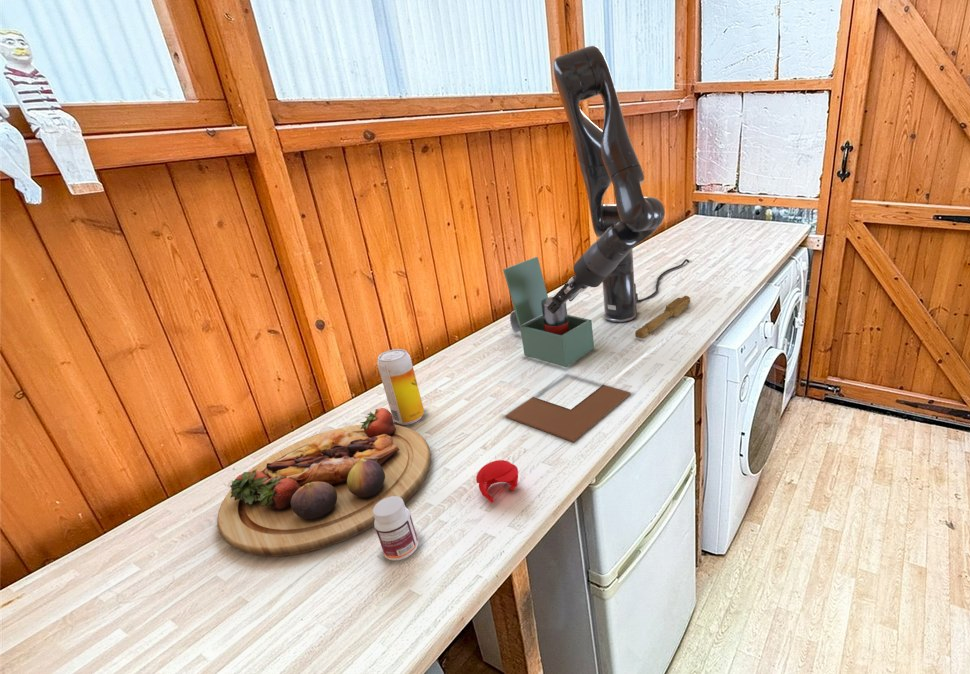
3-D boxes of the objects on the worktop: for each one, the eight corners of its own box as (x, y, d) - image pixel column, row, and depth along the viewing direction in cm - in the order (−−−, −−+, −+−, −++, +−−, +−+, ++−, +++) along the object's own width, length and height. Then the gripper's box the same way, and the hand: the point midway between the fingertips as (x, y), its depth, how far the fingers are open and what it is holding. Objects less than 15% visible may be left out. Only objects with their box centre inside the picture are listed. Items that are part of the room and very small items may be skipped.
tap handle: (634, 328, 140) (683, 293, 163) (634, 339, 141) (683, 302, 164) (643, 331, 138) (692, 294, 162) (644, 341, 140) (692, 304, 163)
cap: (469, 499, 86) (462, 471, 84) (490, 476, 91) (485, 449, 89) (511, 510, 84) (505, 480, 81) (530, 485, 89) (525, 457, 86)
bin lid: (537, 256, 133) (525, 257, 135) (504, 269, 124) (492, 270, 126) (551, 309, 138) (539, 309, 140) (520, 325, 129) (508, 325, 131)
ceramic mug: (550, 331, 148) (547, 305, 144) (526, 340, 142) (522, 314, 139) (529, 322, 154) (525, 297, 151) (505, 330, 149) (501, 305, 146)
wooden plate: (364, 416, 110) (353, 382, 107) (469, 460, 96) (461, 423, 92) (184, 513, 85) (162, 473, 82) (289, 593, 71) (268, 549, 67)
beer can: (431, 412, 111) (415, 349, 105) (410, 428, 106) (393, 363, 99) (408, 408, 113) (391, 346, 106) (387, 423, 108) (368, 359, 101)
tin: (558, 344, 138) (552, 295, 132) (576, 349, 135) (570, 298, 129) (542, 353, 133) (535, 303, 127) (560, 358, 130) (554, 307, 124)
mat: (567, 375, 124) (566, 373, 123) (630, 394, 115) (630, 392, 115) (505, 417, 108) (505, 415, 108) (573, 442, 100) (573, 440, 99)
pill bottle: (391, 538, 79) (377, 495, 76) (423, 535, 79) (410, 492, 76) (379, 563, 75) (363, 519, 71) (413, 560, 75) (399, 516, 72)
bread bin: (594, 350, 135) (591, 319, 132) (565, 369, 126) (562, 337, 123) (554, 340, 142) (550, 310, 138) (524, 357, 133) (519, 326, 129)
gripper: (600, 243, 125) (563, 284, 133) (571, 259, 113) (533, 303, 121) (621, 266, 125) (583, 305, 134) (595, 284, 113) (555, 326, 122)
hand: (559, 304), depth 128 cm, fingers open, 8 cm apart
